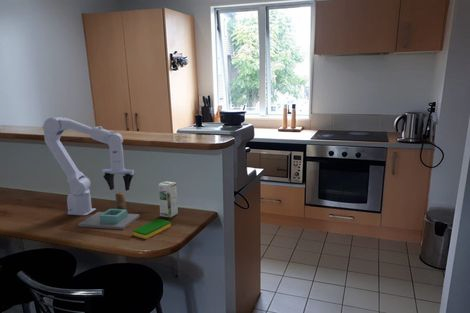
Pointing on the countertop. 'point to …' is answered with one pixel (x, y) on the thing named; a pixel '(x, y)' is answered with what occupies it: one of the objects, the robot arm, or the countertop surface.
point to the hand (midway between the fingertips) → (119, 189)
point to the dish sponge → (151, 228)
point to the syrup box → (168, 199)
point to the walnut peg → (120, 200)
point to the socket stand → (110, 219)
